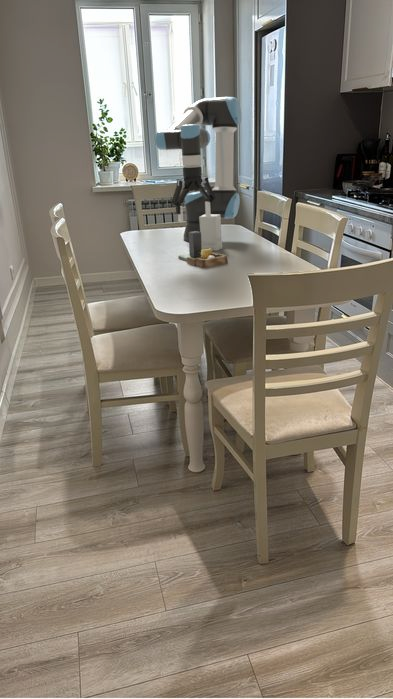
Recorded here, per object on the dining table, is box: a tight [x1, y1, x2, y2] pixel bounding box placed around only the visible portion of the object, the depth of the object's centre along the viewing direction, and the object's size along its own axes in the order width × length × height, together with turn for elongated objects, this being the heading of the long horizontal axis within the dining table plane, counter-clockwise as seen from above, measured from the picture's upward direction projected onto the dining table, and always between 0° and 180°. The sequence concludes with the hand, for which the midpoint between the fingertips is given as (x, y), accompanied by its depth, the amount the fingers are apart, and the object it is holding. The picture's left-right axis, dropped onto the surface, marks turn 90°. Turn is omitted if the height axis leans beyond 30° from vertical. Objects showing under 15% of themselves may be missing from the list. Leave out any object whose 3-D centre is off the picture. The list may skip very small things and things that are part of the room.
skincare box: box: [199, 214, 223, 252], centre depth 237 cm, size 8×7×16 cm
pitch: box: [177, 252, 229, 269], centre depth 219 cm, size 13×21×3 cm, turn 33°
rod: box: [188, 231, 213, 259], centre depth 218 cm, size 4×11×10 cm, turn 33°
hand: (194, 219), depth 217 cm, fingers open, 13 cm apart
